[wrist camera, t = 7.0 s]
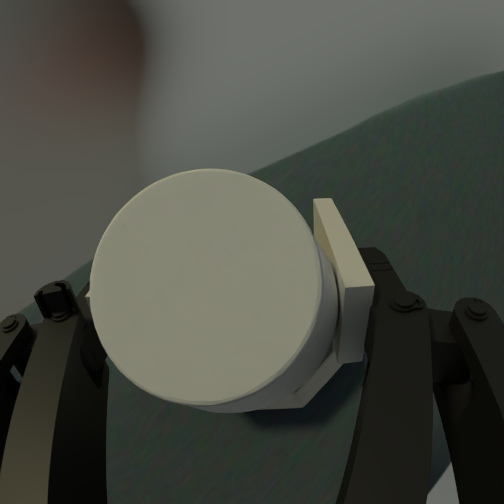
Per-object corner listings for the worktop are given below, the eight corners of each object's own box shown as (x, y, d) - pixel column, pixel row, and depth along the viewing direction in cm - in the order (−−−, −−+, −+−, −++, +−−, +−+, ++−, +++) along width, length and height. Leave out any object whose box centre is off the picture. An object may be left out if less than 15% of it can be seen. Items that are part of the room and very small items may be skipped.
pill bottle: (179, 289, 17) (46, 203, 7) (286, 248, 17) (283, 100, 7) (217, 399, 15) (106, 469, 5) (332, 357, 15) (417, 369, 5)
